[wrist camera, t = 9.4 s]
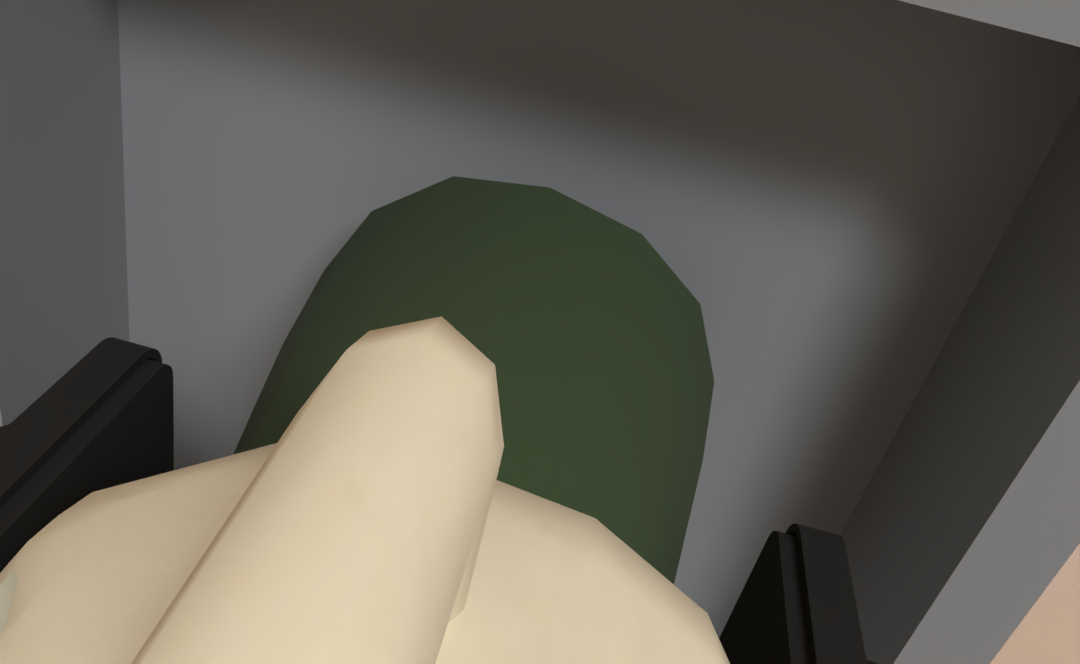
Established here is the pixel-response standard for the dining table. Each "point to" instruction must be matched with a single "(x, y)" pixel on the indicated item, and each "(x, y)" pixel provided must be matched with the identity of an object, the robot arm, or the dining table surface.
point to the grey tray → (633, 200)
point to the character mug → (419, 467)
